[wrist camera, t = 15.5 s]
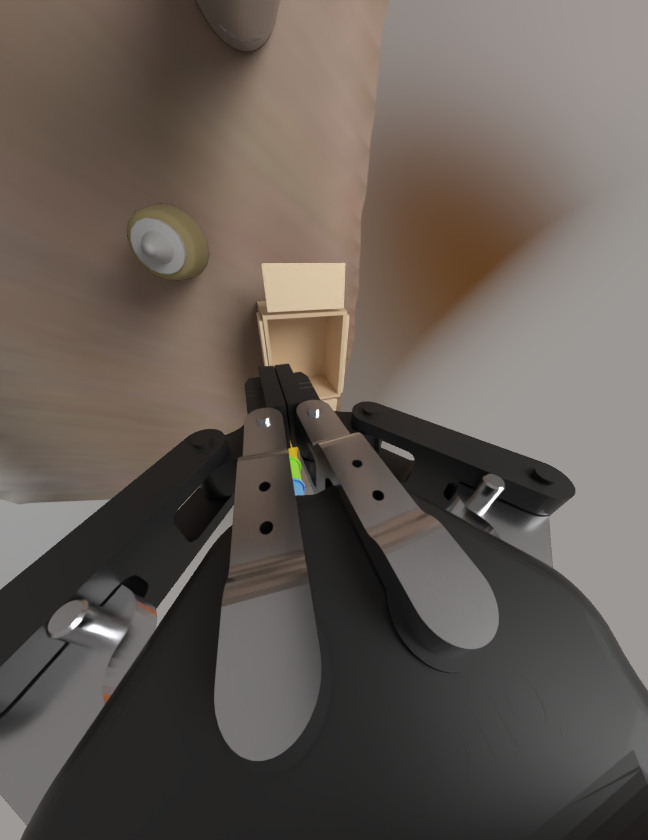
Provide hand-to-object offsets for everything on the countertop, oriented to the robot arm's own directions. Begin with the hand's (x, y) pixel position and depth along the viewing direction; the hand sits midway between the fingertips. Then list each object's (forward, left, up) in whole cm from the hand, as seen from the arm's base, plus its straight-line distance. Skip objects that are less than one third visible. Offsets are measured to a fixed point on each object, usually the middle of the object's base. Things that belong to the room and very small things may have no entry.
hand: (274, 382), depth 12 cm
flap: (+4, +8, -27) cm, 28 cm away
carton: (+12, +8, -37) cm, 40 cm away
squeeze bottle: (-4, -8, -37) cm, 38 cm away
